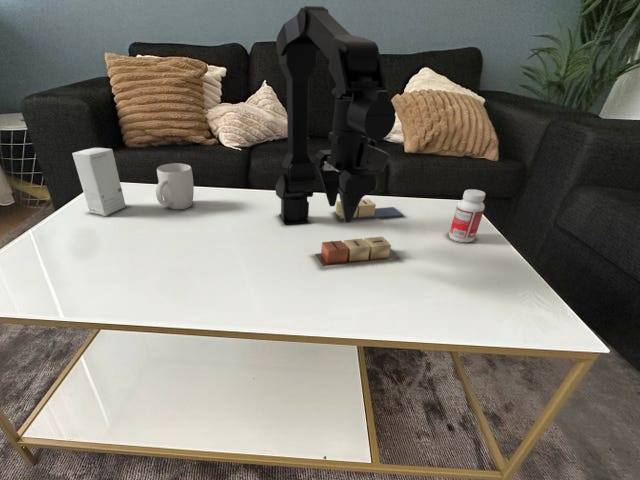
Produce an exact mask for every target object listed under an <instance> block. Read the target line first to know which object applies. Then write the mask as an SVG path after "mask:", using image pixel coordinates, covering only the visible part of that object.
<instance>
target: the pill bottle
mask: <svg viewBox="0 0 640 480" xmlns="http://www.w3.org/2000/svg"><path fill="white" fill-rule="evenodd" d="M485 198H486V192H485V191H483V190H480V189H475V188H474V189H472V188H471V189H465V190H464V192H463V195H462V199H460V200H459V201H458V202H457V205H456V207H455V211H454V213H453V218H452V222H451V225H450V228H449V233H448V236H449V238H450V239H451V240H453V241H455V242H458V243H472V242H473V241H475V239H476V236H477V233H478V230H479V227H480V224H481V220H482V217H483V214H484V212H485V207H486V206H485V203H484V200H485Z"/></svg>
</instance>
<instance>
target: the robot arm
mask: <svg viewBox="0 0 640 480" xmlns="http://www.w3.org/2000/svg"><path fill="white" fill-rule="evenodd" d="M275 43H276V44H275V47H276V53H277V55H278V65H279V68H280V70H281V72H282V73H283V75H284V77H285V79H286V113H287V114H286V116H287V118H286V121H287V123H286V124H287V154H286V155H285V158H284V159H283V161H282V163H281V168H280V175H279V177H278V179H277V181H276V184H275V186H274V188H275V196H277V197H278V198H279V199H280V213H279V214H278V215H279V218H280V220H281V222H282V223H283V224H284V225H297V224H307V223H309V219H308V218H309V213H310V212H309V211H310V202H309V201H308V198H312V197H314V193H315V188H316V183H317V176H316V171H317V173H318V176H319V178H320V181H321V184H322V186H323V190H324V193H325V197H326V199H327V202H328V205H329V207H336V202H337V199H338V196H339V201H341V205H342V210H343V215H344V219H345V221H344V222H345V223H351V222H352V221H353V220H352V218H353V216H354V213H355V211H356V209H357V207H358V205H359V203H360V201H361V200H363V198H364V197H365V196H366V195H368V194H372V193H373V192H375V191H377V190H378V185H379V178H378V176H377V175H376V174H375V173H374V172H373V171H371V170H370V169H368V168H367V166H369V167H373V168H375V169H377V170H378V171H379V172H382V173H383V172H384V171H385V169H386V166H387V164H388V162H389V160H390V158H391V156H392V154H390V153H388V152H386V151H384V150H383V149H380V148H379V147H377V146H378V145H377V143H378V142H377V141H381V140H384V139H385V138H387V137H388V136H389V134H390V133H391V132H392V131H393V129H394V126H395V123H396V119H397V115H396V110H395V107H394V105H393V104H392V102H390V101H389V94H390V93H389V90H387V87H386V82H387V80H386V77H385V76H386V75H385V73H384V70H383V64H382V59H381V53H380V49H379V46H378V44H377V43H376V42H375V41H374V40H371V39H369V38H366V37H361V36H358V35H357V36H356V35H353V34H351V33H350V32H349V31H348V30H346V28H344V26H343V25H341V24H340V23H339V21H337V20H336V19H335V18H334V17H333V16H332V15H331V14H330V13H329V10H328V8H326V7H325V6H321V5H320V6H319V5H305V6H303V7H300V9H299V10H298V12H297V14H296V15H294V16H293V17H292V18H290V19H289V20H288V21H286V22H284V23H283V25H282V26H281V28H280V31H279V32H278V33H277V36H276V41H275ZM319 52H322V53H323V55H324V56H325V57H326V58H327V59H328V61H329V62H328V67H327V69H328V71H329V73H330V75H331V76H332V78H333V81H334V83H335V85H336V86H335V87H333V88H332V90H331V92H330V94H331V96H333V97H334V107H333V120H332V130H331V132H328V137H327V138H328V139H329V140H330V141H331V145H330V149H325V150H324V149H320V150H319V151H318V152H317V153H316V154H315V157H314V162H313V161H312V159H311V156H310V155H309V98H310V97H309V90H310V89H309V88H310V86H309V85H310V83H309V82H310V79H311V76H312V74H313V72H314V70H315V68H316V67H317V63H318V54H319ZM351 220H352V221H351Z"/></svg>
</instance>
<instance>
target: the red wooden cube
mask: <svg viewBox="0 0 640 480" xmlns="http://www.w3.org/2000/svg"><path fill="white" fill-rule="evenodd" d="M320 250H321V252H320V253H321V255H322V257H323V258H324V260H325V261H326V262H327V264H330V263H340V262H347V256H348V248H347V247H346V246H345V244H344V243H343V240H330V241H322V242H321V249H320Z"/></svg>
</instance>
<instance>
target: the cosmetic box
mask: <svg viewBox="0 0 640 480" xmlns="http://www.w3.org/2000/svg"><path fill="white" fill-rule="evenodd" d="M72 158H73V161H74V163H75V168H76V171H77V174H78V179H79V182H80V185H81V188H82V191H83V195H84V198H85V202H86V206H87V209H88V212H89V213H90V214H94V215H97V216H102V217H107V216H109V215H111V214H113V213H115V212H117V211H119V210H123V209H124V208H126V207H127V206H126V201H125V196H124V193H123V188H122V186H121V185H122V184H121V181H120V177H119V176H120V175H119V172H118V168H117V163H116V159H115V156H114V151H113V149H112V148H105V147H91V148H87V149H82V150H79V151H75V152H72Z"/></svg>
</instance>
